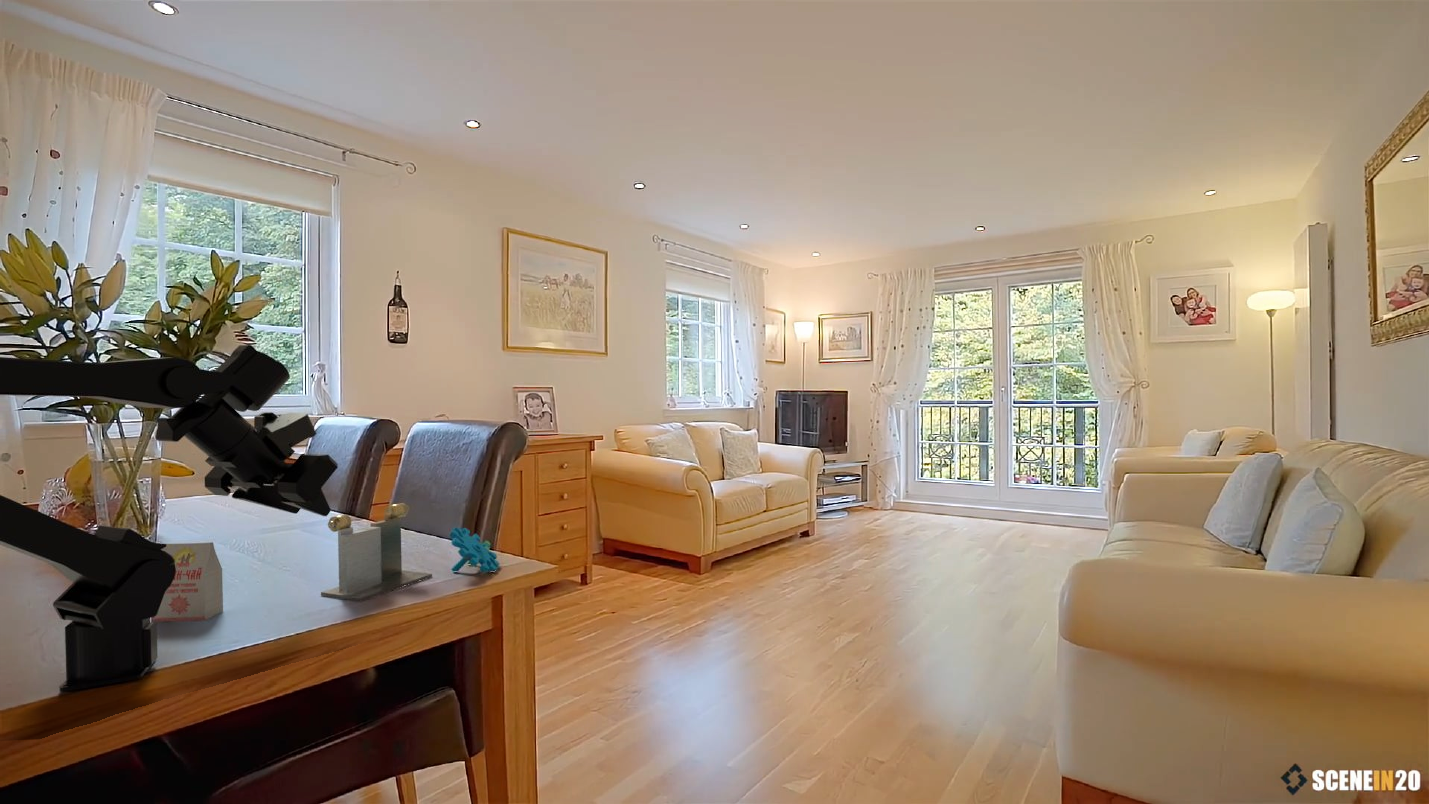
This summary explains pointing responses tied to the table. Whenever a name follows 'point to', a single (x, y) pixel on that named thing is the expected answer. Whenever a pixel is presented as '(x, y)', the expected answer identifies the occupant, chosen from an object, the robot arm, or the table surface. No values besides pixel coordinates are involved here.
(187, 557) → the tea bag
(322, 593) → the hinge base
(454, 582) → the table surface
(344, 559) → the brass-capped grey pillar
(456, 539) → the teal branched piece
